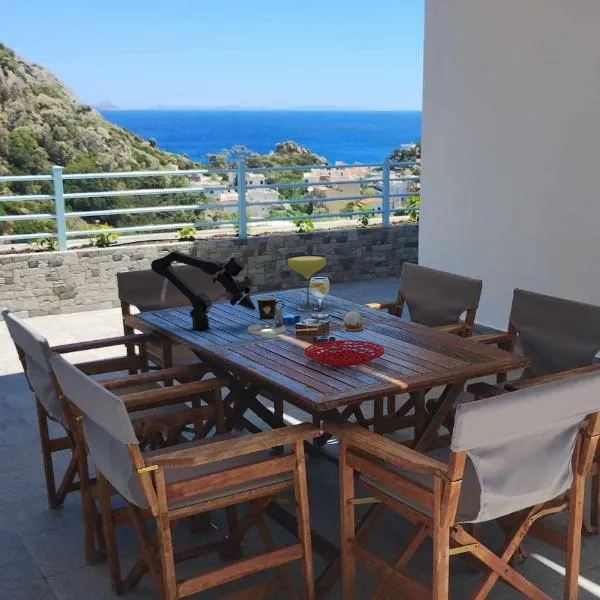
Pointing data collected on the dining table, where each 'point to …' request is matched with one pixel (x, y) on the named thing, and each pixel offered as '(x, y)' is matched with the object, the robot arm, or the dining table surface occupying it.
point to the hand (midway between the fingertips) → (255, 309)
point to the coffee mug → (267, 307)
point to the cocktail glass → (307, 269)
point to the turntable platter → (269, 325)
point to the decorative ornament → (353, 319)
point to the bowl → (344, 353)
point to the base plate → (267, 334)
